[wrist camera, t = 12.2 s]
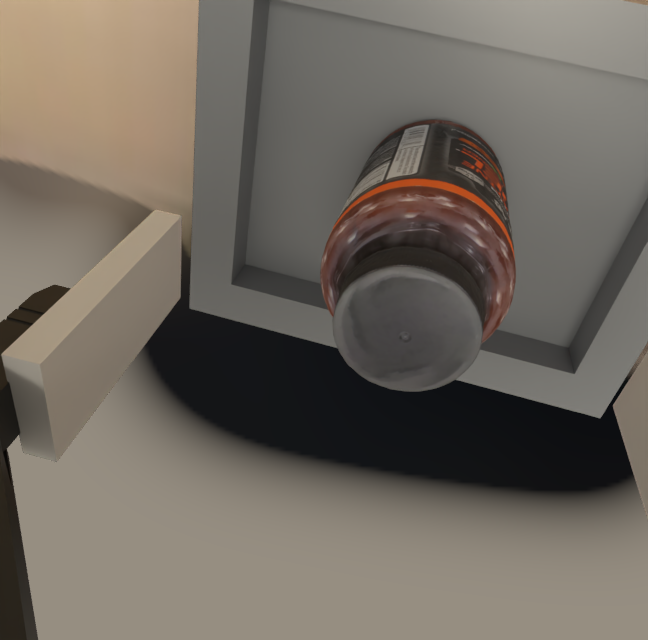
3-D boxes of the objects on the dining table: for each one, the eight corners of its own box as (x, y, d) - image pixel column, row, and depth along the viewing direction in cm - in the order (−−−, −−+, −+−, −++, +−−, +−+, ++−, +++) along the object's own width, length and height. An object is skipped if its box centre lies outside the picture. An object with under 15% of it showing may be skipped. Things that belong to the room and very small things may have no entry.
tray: (212, 278, 31) (189, 308, 28) (233, -84, 22) (201, -86, 19) (589, 377, 29) (600, 418, 27) (788, 29, 20) (832, 43, 17)
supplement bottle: (533, 201, 24) (573, 368, 15) (416, 273, 27) (386, 451, 18) (449, 81, 22) (433, 185, 13) (333, 173, 25) (252, 312, 16)
